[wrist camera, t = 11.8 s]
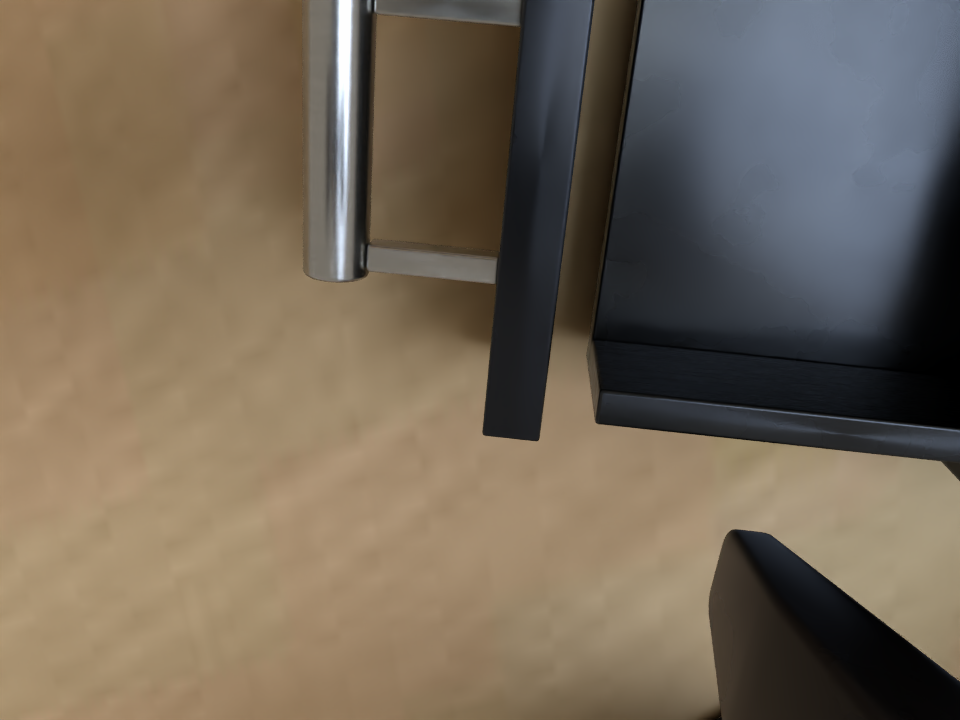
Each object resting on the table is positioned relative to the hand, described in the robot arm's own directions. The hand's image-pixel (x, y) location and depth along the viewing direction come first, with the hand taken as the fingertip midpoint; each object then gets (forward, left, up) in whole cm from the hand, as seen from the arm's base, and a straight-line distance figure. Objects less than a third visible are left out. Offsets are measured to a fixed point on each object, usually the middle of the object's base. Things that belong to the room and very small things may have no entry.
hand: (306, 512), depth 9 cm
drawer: (+6, -2, -12) cm, 13 cm away
